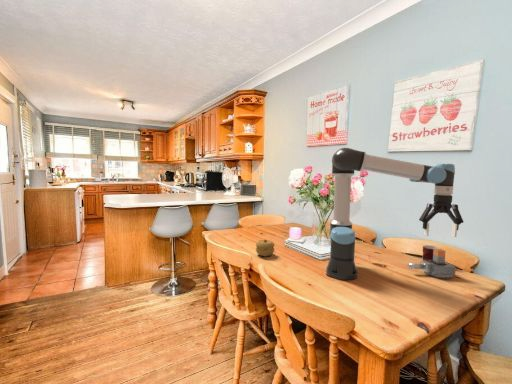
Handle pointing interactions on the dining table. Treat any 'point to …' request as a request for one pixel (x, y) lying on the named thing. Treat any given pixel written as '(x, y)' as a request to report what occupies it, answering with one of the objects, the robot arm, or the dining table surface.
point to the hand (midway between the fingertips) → (439, 235)
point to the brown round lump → (265, 247)
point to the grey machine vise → (435, 269)
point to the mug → (428, 252)
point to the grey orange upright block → (439, 257)
